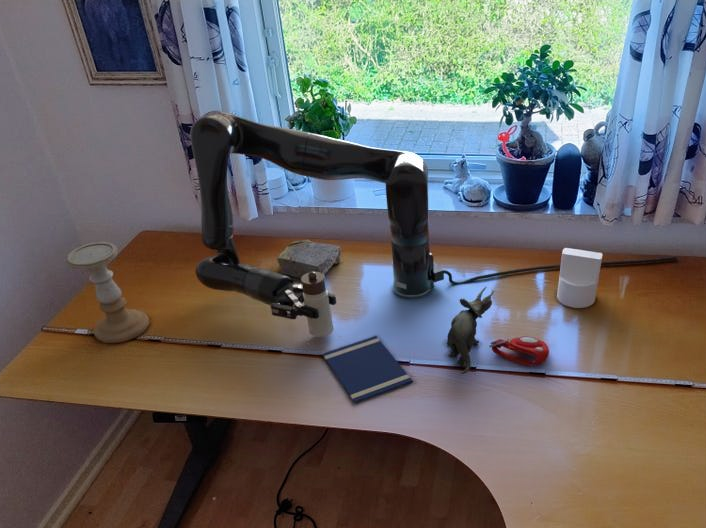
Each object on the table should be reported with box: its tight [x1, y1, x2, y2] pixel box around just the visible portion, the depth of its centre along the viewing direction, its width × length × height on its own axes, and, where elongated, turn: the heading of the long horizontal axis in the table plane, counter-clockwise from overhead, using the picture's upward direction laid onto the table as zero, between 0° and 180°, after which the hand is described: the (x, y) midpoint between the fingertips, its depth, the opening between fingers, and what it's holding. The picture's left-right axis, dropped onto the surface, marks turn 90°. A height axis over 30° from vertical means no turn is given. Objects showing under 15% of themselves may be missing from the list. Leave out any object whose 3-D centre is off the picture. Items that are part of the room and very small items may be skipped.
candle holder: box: [65, 241, 150, 344], centre depth 142 cm, size 12×12×20 cm
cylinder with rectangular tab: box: [556, 247, 603, 309], centre depth 147 cm, size 9×9×12 cm
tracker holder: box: [488, 336, 550, 367], centre depth 133 cm, size 12×4×10 cm
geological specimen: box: [276, 239, 342, 279], centre depth 165 cm, size 11×6×15 cm
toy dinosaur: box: [446, 286, 495, 375], centre depth 132 cm, size 22×8×11 cm, turn 160°
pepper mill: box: [300, 272, 334, 338], centre depth 137 cm, size 5×5×15 cm
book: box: [322, 335, 414, 404], centre depth 133 cm, size 13×18×1 cm
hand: (326, 307), depth 136 cm, fingers closed on pepper mill, 5 cm apart
